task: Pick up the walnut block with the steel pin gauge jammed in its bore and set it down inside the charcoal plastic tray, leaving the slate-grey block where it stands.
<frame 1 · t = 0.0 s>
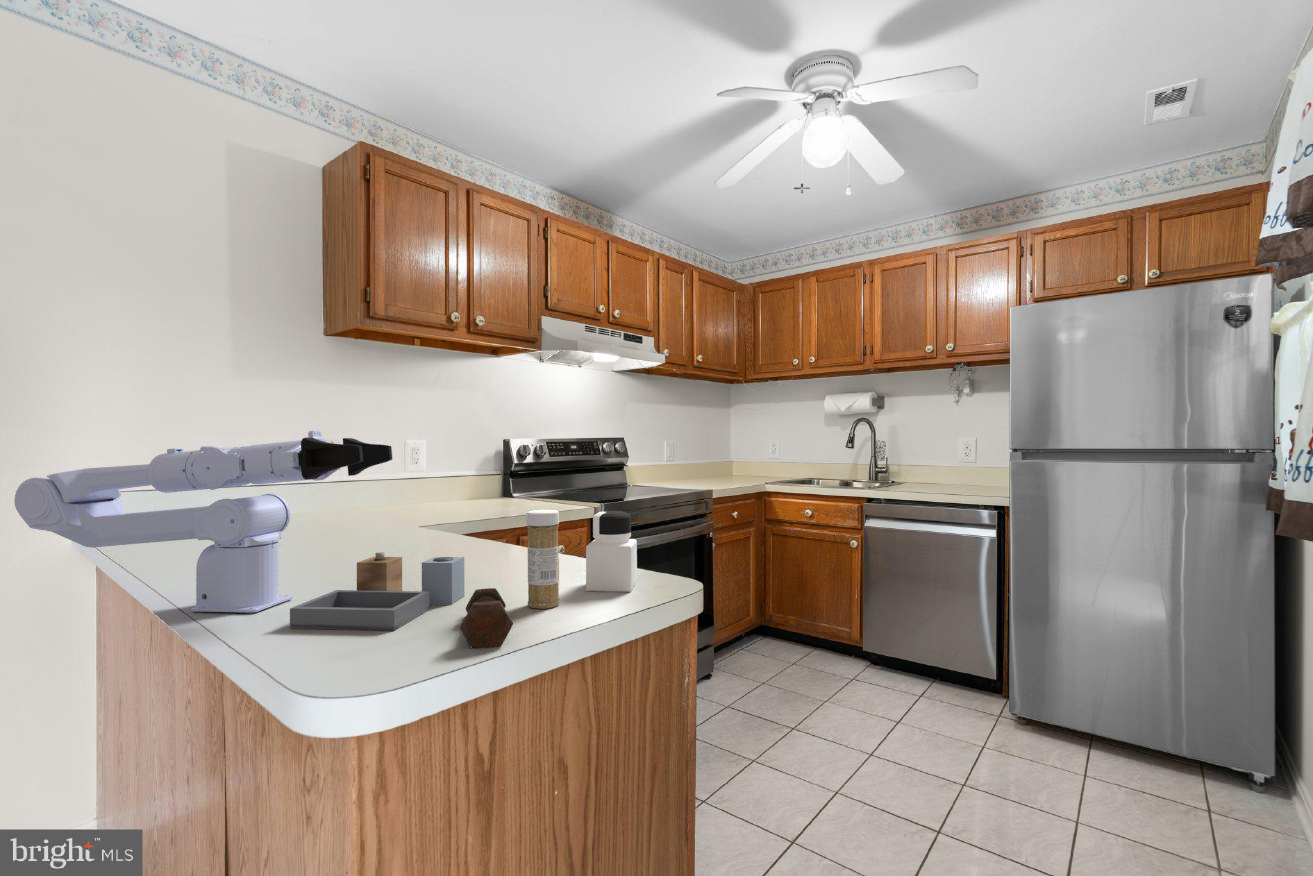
hand: (376, 453, 86), 22 cm above the countertop, tool horizontal, fingers open, 7 cm apart
oversize block: (443, 600, 90), on the countertop
sprinkles bottle: (543, 606, 87), on the countertop
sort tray: (363, 618, 81), on the countertop
medicine bottle: (612, 588, 98), on the countertop
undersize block: (379, 600, 91), on the countertop
bolt: (487, 632, 76), on the countertop
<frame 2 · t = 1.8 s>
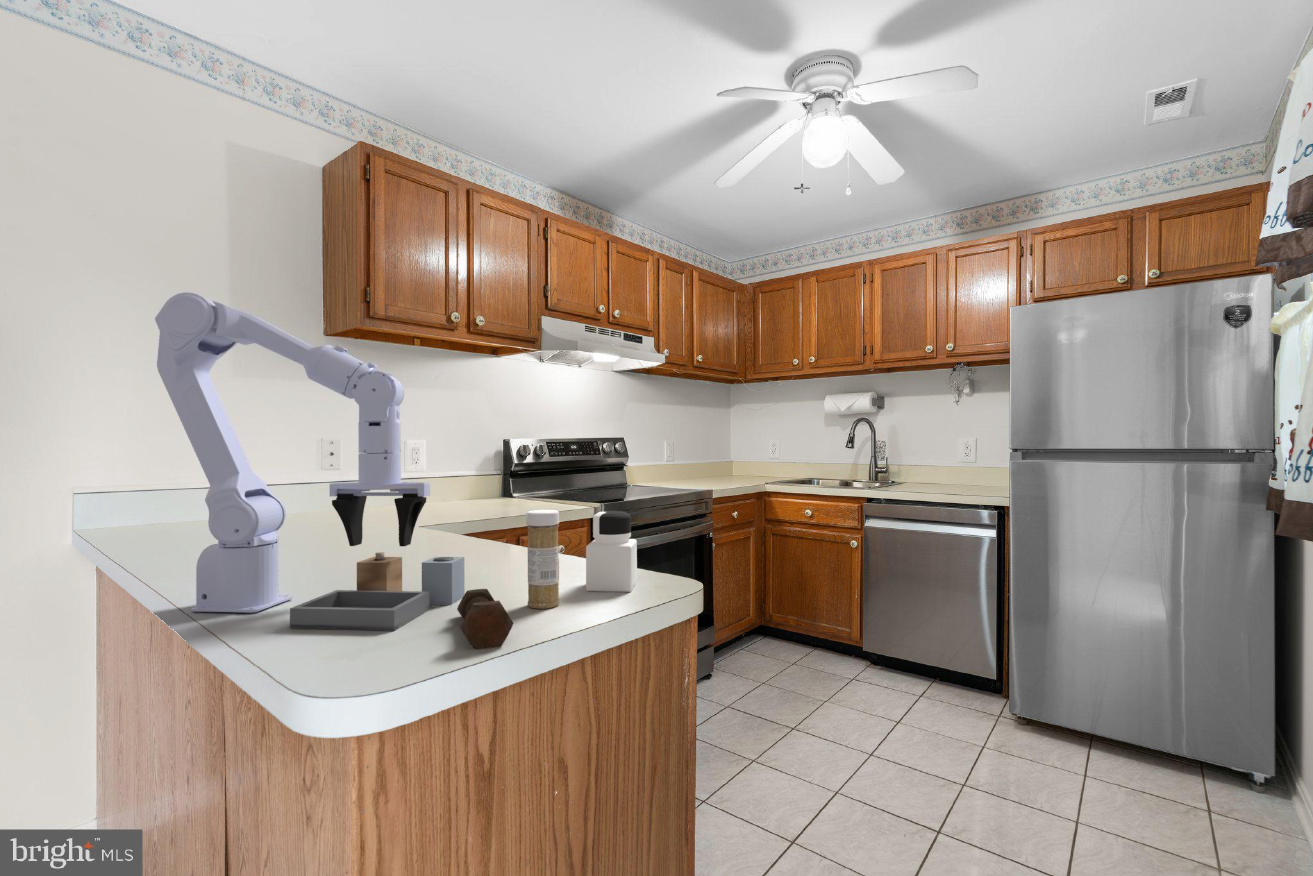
hand: (380, 545, 91), 8 cm above the countertop, tool pointing down, fingers open, 7 cm apart
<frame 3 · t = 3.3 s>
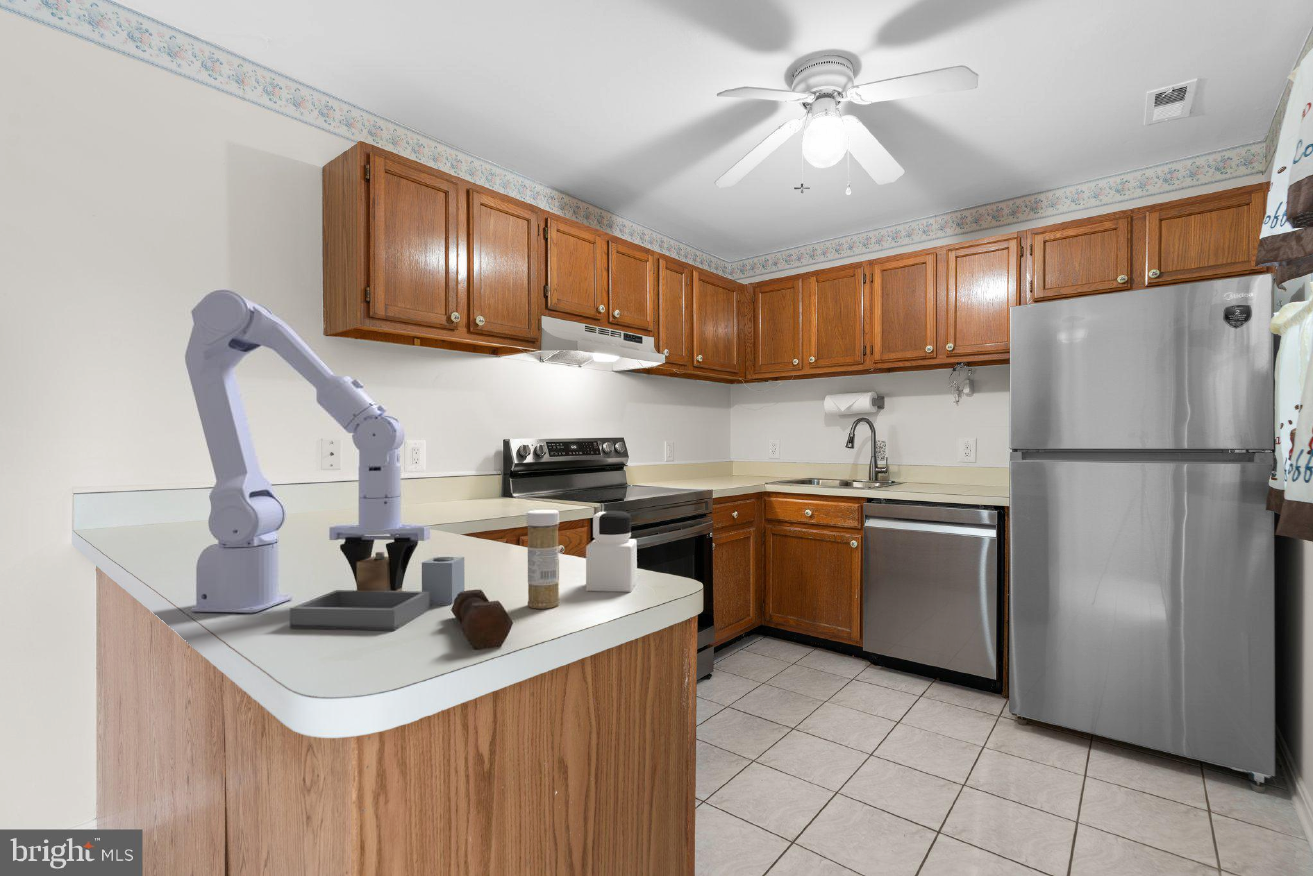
hand: (380, 588, 91), 2 cm above the countertop, tool pointing down, fingers closed on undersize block, 4 cm apart
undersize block: (380, 600, 91), on the countertop, touching gripper
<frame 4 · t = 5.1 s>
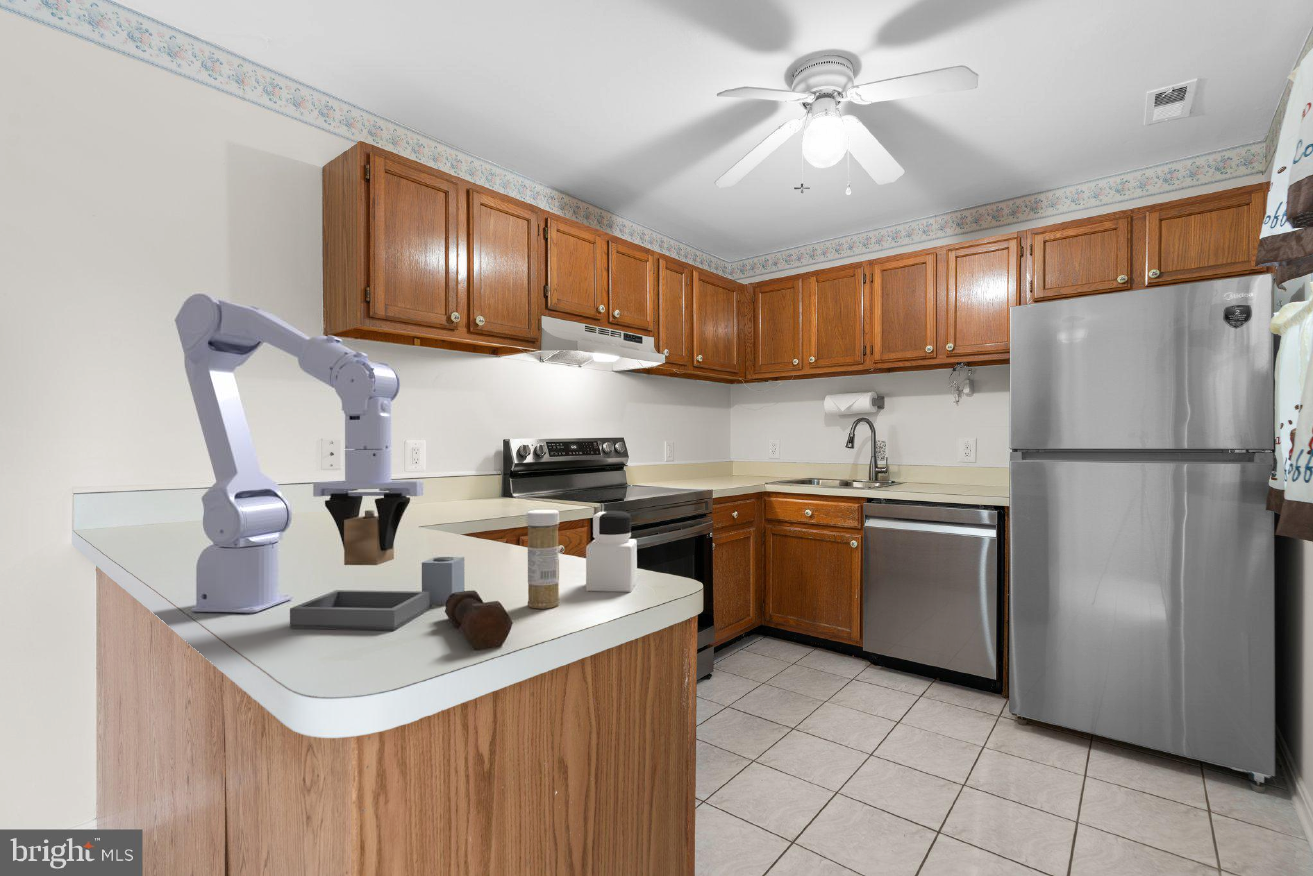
hand: (368, 549, 84), 9 cm above the countertop, tool pointing down, fingers closed on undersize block, 4 cm apart
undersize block: (369, 562, 84), point 7 cm above the countertop, touching gripper
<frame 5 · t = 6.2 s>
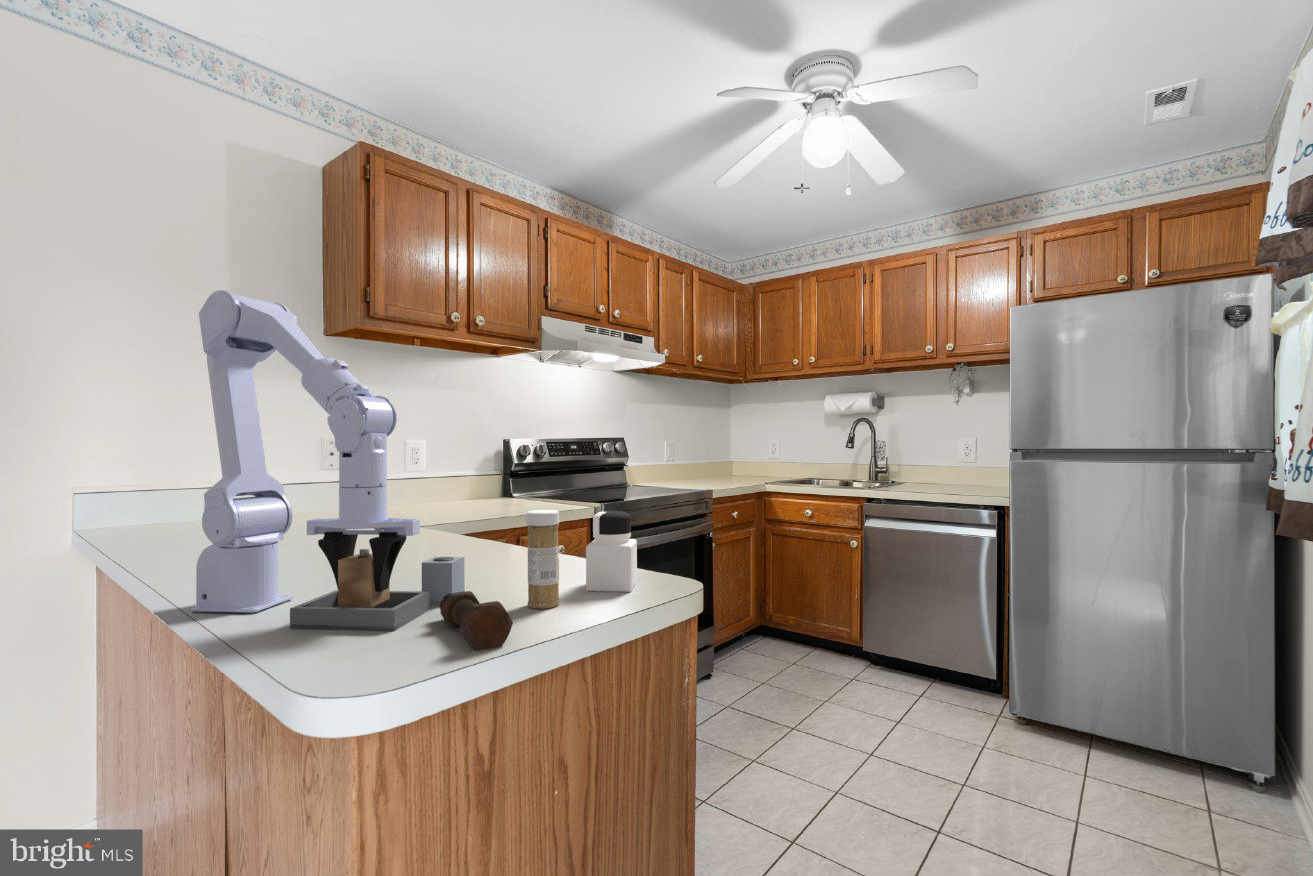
hand: (363, 589, 81), 4 cm above the countertop, tool pointing down, fingers closed on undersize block, 4 cm apart
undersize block: (364, 602, 81), point 2 cm above the countertop, touching gripper
when the fingers open (4 cm above the countertop, at t = 7.1 s): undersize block drops 1 cm, resting on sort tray.
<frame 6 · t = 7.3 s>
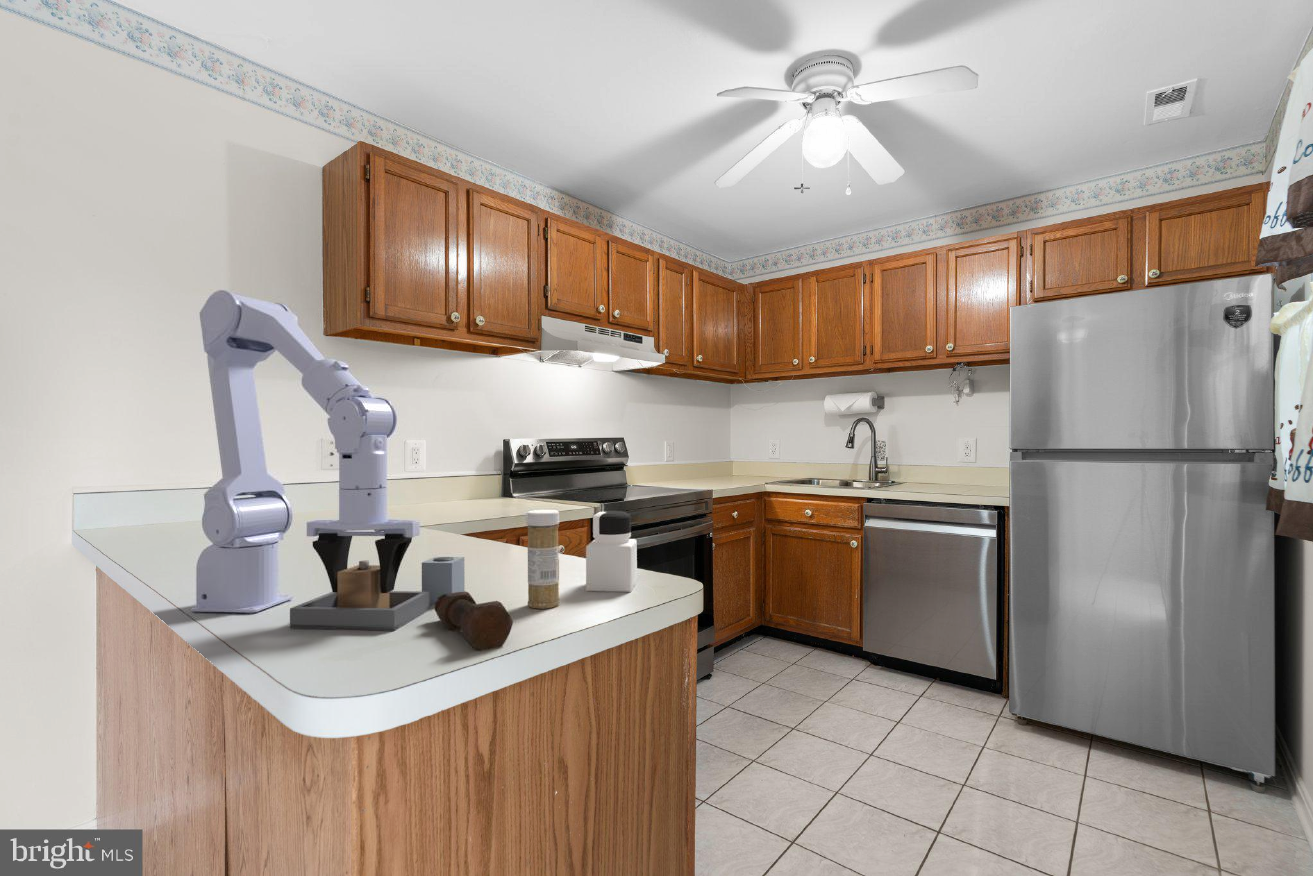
hand: (363, 591, 81), 4 cm above the countertop, tool pointing down, fingers open, 6 cm apart
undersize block: (364, 614, 81), point 1 cm above the countertop, touching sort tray
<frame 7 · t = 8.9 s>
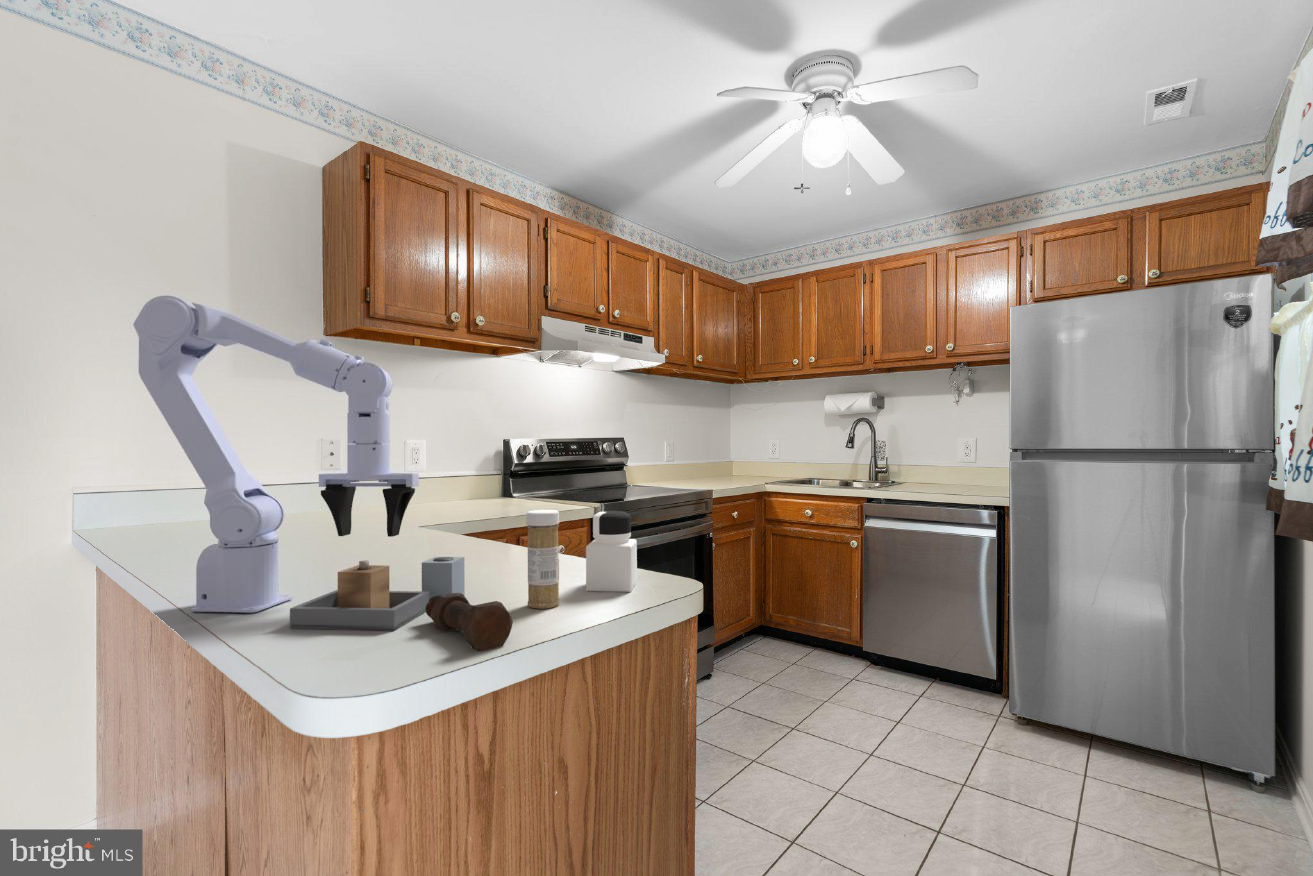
hand: (368, 535, 91), 9 cm above the countertop, tool pointing down, fingers open, 7 cm apart
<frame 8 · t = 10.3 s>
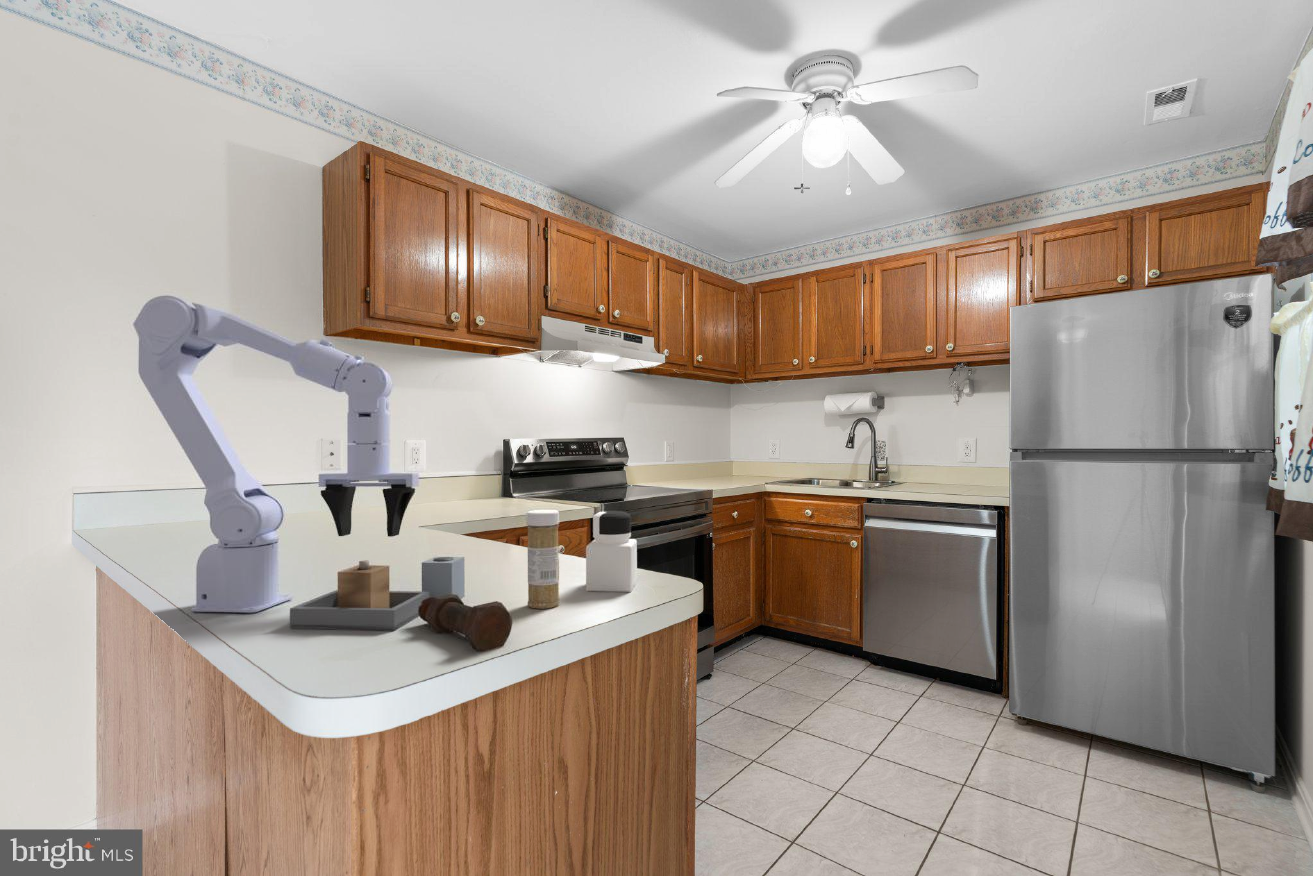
hand: (368, 535, 91), 9 cm above the countertop, tool pointing down, fingers open, 7 cm apart
at the end: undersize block inside the target area on the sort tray (0.2 cm from its centre), point 0.5 cm above the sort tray's base; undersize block tilted 0°; oversize block moved 0.1 cm from its start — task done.
